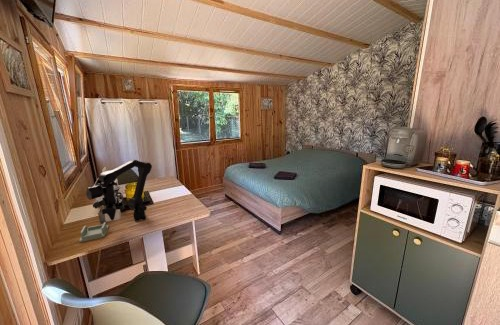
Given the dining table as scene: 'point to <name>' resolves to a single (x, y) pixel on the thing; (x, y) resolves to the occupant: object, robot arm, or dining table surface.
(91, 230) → the holder
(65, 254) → the dining table surface
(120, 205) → the french press
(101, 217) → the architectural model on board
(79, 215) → the dining table surface
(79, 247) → the dining table surface
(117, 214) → the roll
